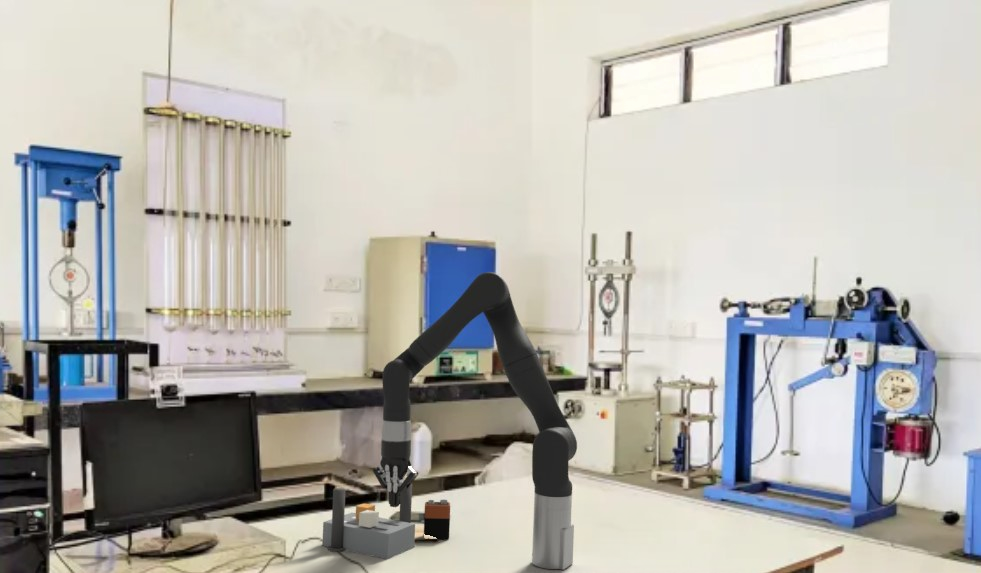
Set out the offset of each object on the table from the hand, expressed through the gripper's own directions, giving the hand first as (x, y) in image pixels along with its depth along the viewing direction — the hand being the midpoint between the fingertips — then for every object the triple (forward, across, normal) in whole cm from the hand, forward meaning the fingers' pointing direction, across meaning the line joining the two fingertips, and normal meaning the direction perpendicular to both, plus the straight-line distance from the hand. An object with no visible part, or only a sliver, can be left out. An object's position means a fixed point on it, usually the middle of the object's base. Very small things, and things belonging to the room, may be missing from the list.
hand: (394, 506), depth 212 cm
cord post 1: (+11, +11, +8) cm, 18 cm away
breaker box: (+11, +6, +2) cm, 13 cm away
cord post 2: (+11, +1, -7) cm, 13 cm away
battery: (+11, -4, -15) cm, 19 cm away
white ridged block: (+4, +4, +5) cm, 8 cm away
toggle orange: (+4, +9, 0) cm, 10 cm away
